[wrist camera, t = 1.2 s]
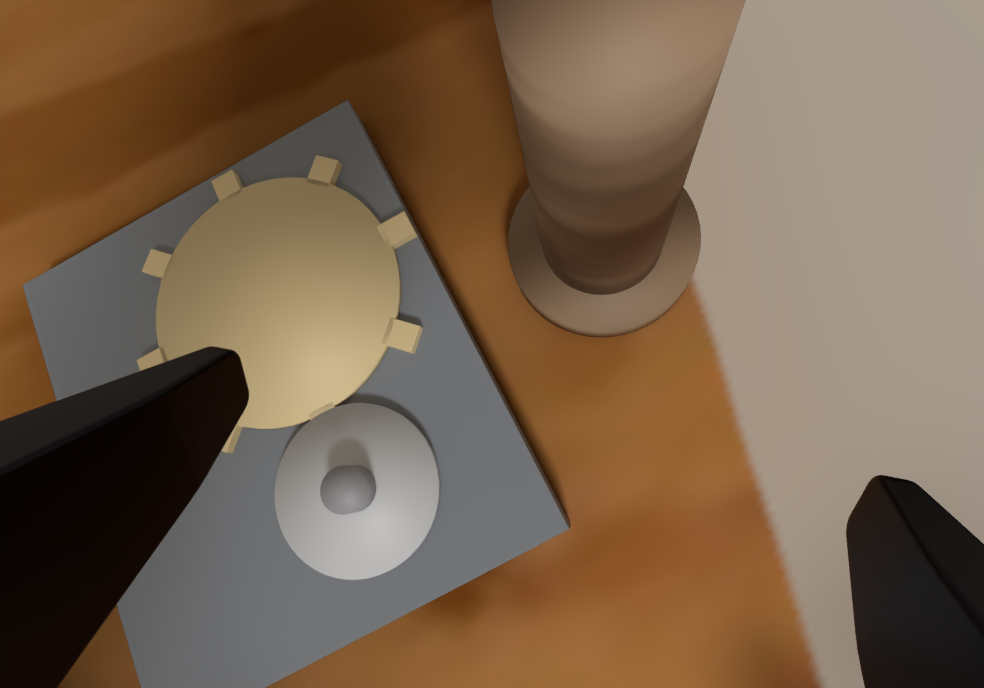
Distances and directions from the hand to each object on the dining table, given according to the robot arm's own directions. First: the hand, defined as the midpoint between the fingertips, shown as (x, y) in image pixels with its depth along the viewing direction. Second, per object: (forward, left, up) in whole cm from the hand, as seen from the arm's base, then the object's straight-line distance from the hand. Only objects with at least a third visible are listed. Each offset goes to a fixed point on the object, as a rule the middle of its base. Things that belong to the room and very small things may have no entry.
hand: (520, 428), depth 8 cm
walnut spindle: (+6, -5, -13) cm, 16 cm away
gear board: (+7, +9, -13) cm, 18 cm away
